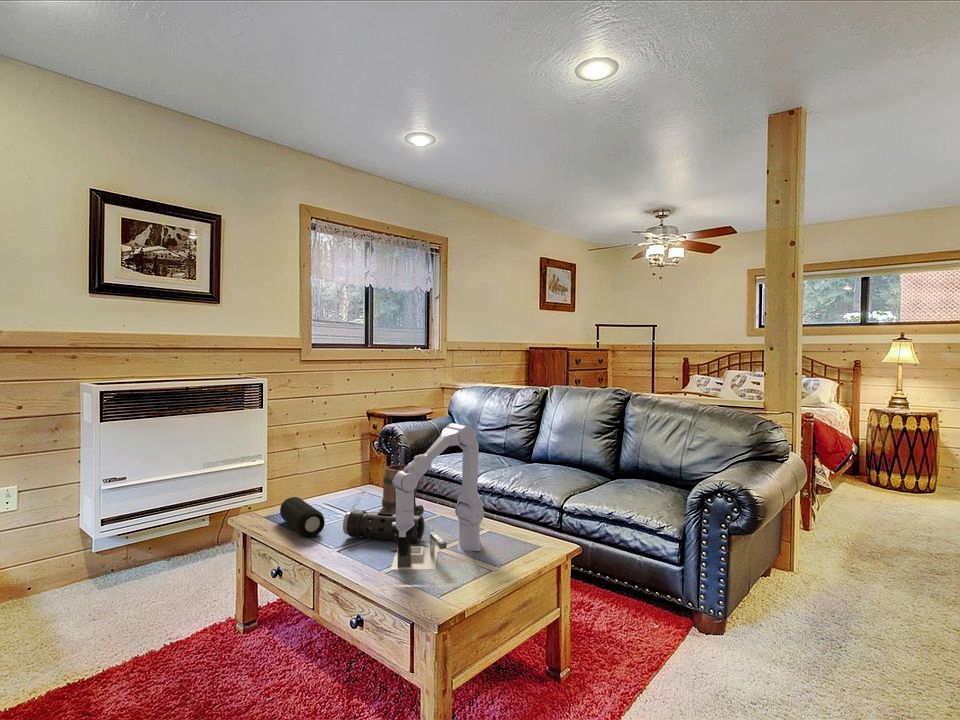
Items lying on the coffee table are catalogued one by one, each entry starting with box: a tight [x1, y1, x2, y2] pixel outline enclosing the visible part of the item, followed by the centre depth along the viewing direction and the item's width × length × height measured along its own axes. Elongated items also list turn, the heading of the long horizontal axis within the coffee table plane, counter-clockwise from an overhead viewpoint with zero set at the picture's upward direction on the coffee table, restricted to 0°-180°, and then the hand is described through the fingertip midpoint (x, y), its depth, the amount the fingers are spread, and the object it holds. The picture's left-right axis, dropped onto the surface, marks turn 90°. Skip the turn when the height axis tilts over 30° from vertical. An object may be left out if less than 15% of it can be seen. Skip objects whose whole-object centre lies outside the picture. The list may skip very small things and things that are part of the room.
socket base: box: [390, 545, 439, 571], centre depth 173 cm, size 18×14×3 cm
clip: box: [429, 531, 448, 556], centre depth 169 cm, size 2×12×8 cm, turn 24°
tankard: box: [379, 464, 425, 516], centre depth 216 cm, size 24×17×20 cm
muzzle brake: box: [342, 509, 425, 544], centre depth 189 cm, size 10×28×10 cm, turn 78°
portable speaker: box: [279, 496, 325, 538], centre depth 201 cm, size 26×10×10 cm, turn 38°
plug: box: [389, 543, 412, 567], centre depth 167 cm, size 4×7×6 cm, turn 93°
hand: (404, 551), depth 167 cm, fingers open, 7 cm apart
